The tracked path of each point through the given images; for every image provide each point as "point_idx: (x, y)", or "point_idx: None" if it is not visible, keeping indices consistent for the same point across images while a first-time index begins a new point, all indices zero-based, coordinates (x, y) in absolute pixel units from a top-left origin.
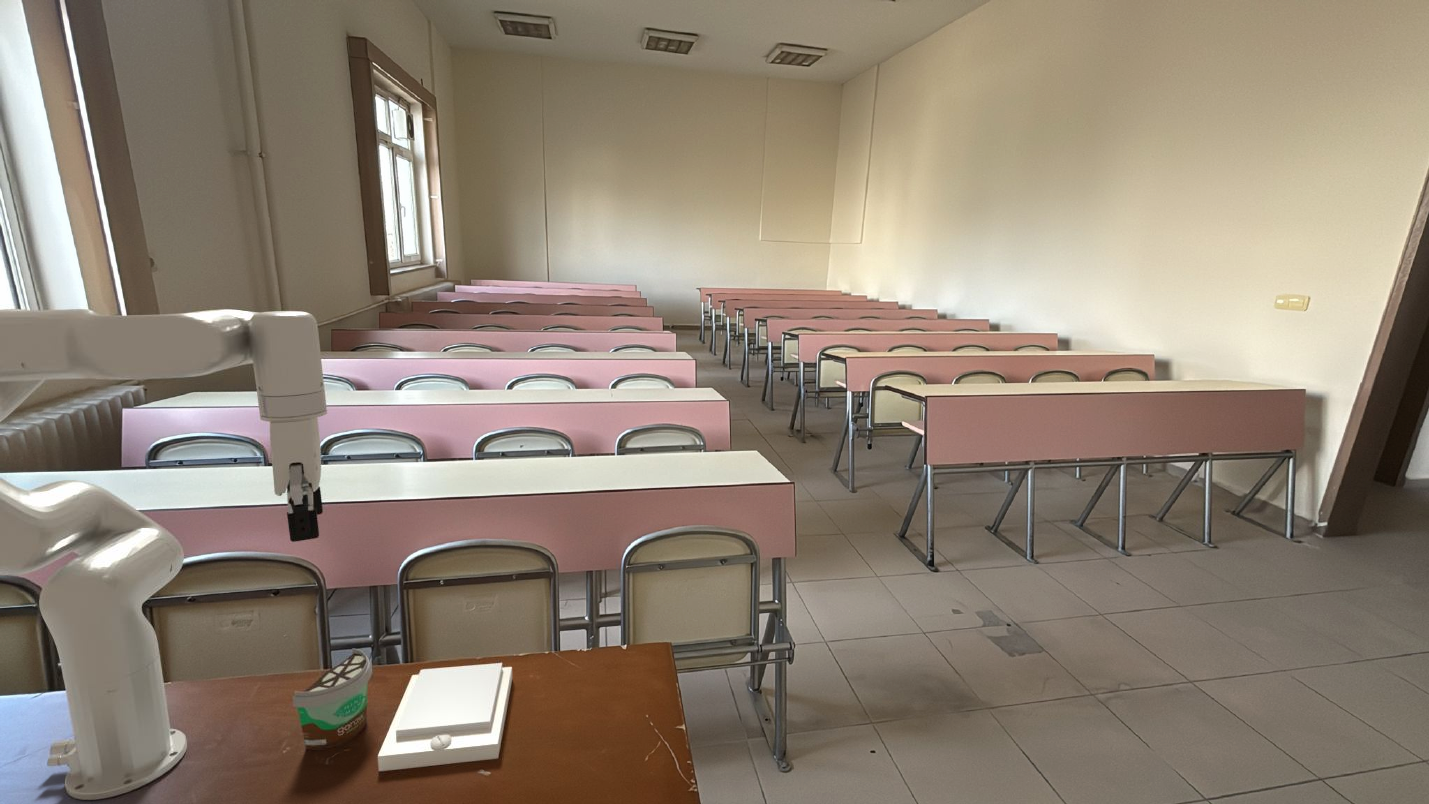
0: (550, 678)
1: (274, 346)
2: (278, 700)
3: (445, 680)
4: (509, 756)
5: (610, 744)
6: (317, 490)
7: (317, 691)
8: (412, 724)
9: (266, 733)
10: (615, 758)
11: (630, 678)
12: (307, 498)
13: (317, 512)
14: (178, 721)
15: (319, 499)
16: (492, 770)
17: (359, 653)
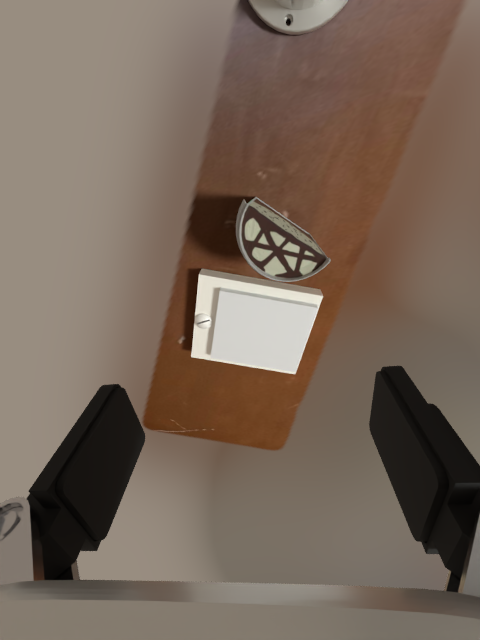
0: (282, 389)
1: None
2: (371, 138)
3: (286, 328)
4: None
5: (190, 407)
6: (414, 533)
7: (239, 233)
8: (224, 303)
9: (302, 142)
10: (176, 407)
11: (258, 431)
12: (406, 467)
13: (373, 424)
14: None
15: (392, 484)
16: (182, 344)
17: (318, 268)
